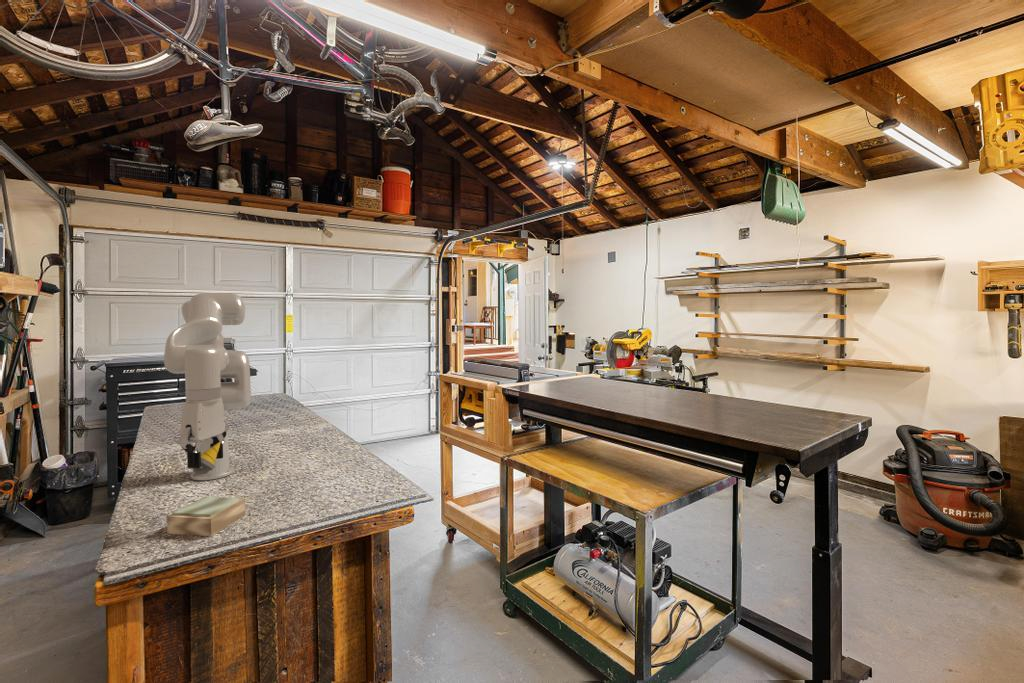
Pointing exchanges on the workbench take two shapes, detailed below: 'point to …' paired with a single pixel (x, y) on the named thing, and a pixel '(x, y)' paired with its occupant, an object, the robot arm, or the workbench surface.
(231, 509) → the base block
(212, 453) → the drill bit
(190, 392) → the robot arm
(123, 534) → the workbench surface
